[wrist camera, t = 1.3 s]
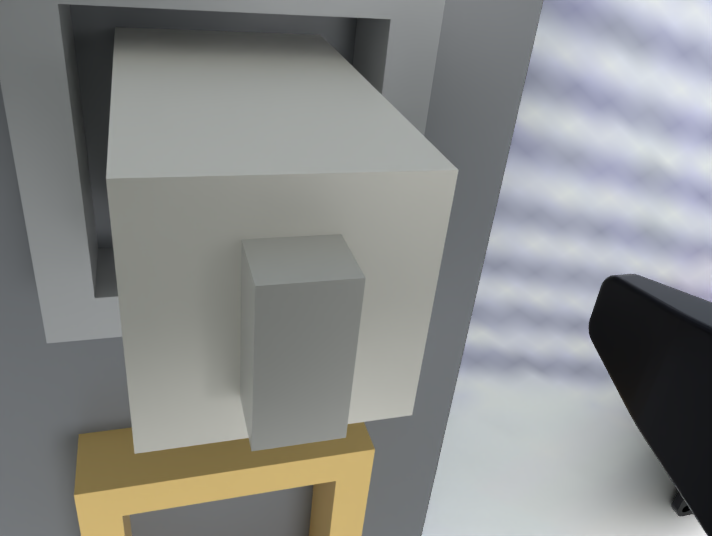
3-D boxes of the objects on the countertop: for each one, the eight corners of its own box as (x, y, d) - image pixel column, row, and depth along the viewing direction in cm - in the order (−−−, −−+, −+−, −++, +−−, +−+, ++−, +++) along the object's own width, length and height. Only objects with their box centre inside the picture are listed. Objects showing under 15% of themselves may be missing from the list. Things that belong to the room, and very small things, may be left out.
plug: (320, 35, 14) (495, 206, 7) (308, 209, 16) (437, 465, 9) (114, 27, 13) (103, 222, 6) (131, 216, 15) (136, 514, 8)
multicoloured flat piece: (543, -111, 14) (627, -102, 12) (405, 541, 26) (435, 614, 23) (-242, -200, 10) (-355, -215, 8) (4, 620, 22) (-11, 719, 19)
